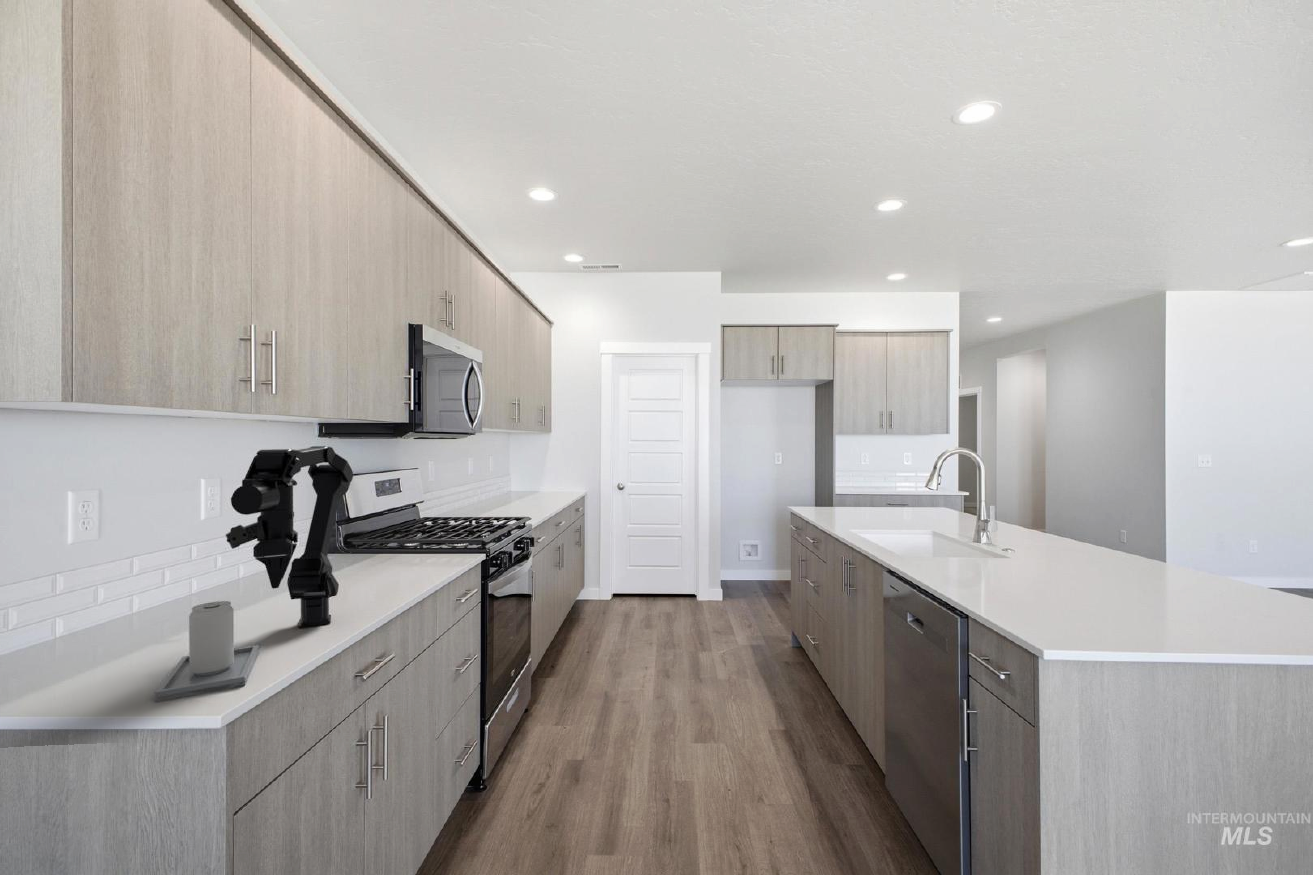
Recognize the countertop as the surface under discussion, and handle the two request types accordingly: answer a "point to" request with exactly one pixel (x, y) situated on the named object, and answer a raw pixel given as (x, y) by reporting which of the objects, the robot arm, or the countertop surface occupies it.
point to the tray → (207, 677)
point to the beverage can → (211, 638)
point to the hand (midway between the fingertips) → (277, 583)
